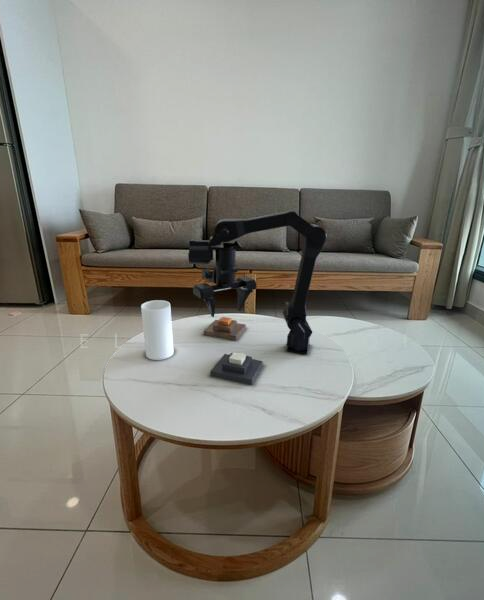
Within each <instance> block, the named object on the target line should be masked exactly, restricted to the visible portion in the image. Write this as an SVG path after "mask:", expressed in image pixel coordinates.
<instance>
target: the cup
mask: <svg viewBox="0 0 484 600" xmlns="http://www.w3.org/2000/svg"><path fill="white" fill-rule="evenodd" d="M171 308H172V307H171V303H170V302H169V301H167V300H162V299H159V300H158V299H155V300H149V301H145V302H144V303H141V305H140V309H141V310H140V311H141V320H142V321H141V322H142V329H143V340H144V350H145V356H146V358H147V359H149V360H152V361H162V360H165V359H168V358H170V357H172V356H173V355H174V353H175V351H174V337H173V323H172V321H173V320H172V309H171Z"/></svg>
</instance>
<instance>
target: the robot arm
mask: <svg viewBox="0 0 484 600" xmlns="http://www.w3.org/2000/svg"><path fill="white" fill-rule="evenodd" d="M284 227H291V228H292V229H293V230H295V231H296V232H298V234H300V235H301V239H300V240H301V241H300V246H301V255H300V256H301V257H300V261H299V266H298V271H297V276H296V280H295V284H294V289H293V293H292V297H291V299H290V300H289V302H288V301H284V309H283V311H282V315H283V319H284V321H285V323H286V326H287V328H288V329H289V332H288V334H287V337H286V347H287V348H286V351H287V352H290V353H294V354H295V353H296V354H301V355H307V354H308V352H309V350H310V348H311V347H310V346H311V344H310V339H311V336H312V335H313V330H312V327H311V326H310V324H309V322H308V320H307V299H308V295H309V290H310V286H311V282H312V279H313V274H314V269H315V265H316V262H317V258H318V256H319V255H320V253H321V252H322V250H323V248H324V246H325V244H326V241H327V238H328V237H327V232H326V231H325V229H324V228H323V227H322V226H320V225H317V224H315V223H309V222H308V221H307V220H305V219H304V218H303V217H301V216H300V215H299V214H298V213H297V212H296V211H295V210H292V209H287V210H285V211H281V212H276V213H271V214H265V215H259V216H253V217H249V218H234V217H233V218H222V219H221V218H220V219H219V220H218V221H217V222H216V224H215V227H214V233H213V234H212V235H211V236H210V238H209V240H208V239H207V240H203V239H201V240H199V239H190V240H189V242H188V243H189V244H188V245H189V246H188V253H187V256H188V257H187V258H188V263H189V265H210V263H212V262H213V261H214V250H215V265H214V266H213V270H210V268H204V269H201V278H202V281H208V283H207V282H203V283H196V284H194V285H193V288H192V293H193V295H194V296H196V297H197V298H198V299H200V300H203V301H204V302H205V305H206V307H207V309H208V311H209V313H210V316H211V317H212V318H214V317H215V312H216V297H214V295H215V293H217V292H223V291H229V290H234V289H235V290H236V293H237V298H236V299H237V303H236V307H237V311H238V312H241V311H242V308H243V307H244V305H245V303H246V301H247V299H248V298H249V296H250V295H251V294H252V293H253V292H254V290H257V289H258V287H257V286H258V285H257V281H256V280H255V279H254V278H251V277H250V276H246V275H245V276H240V277H237V278H236V273H238V272H239V268H237V267H236V250H242V249H243V246H242V244H241V243H240V242H239V241H238V240H237V239H239V238H241V237H243V236H246V235H248V234H252V233H257V232H262V231H268V230H272V229H273V230H274V229H278V228H284ZM232 241H233V242H232ZM221 243H223V244H221ZM209 283H212V284H214V285H210V284H209Z"/></svg>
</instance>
